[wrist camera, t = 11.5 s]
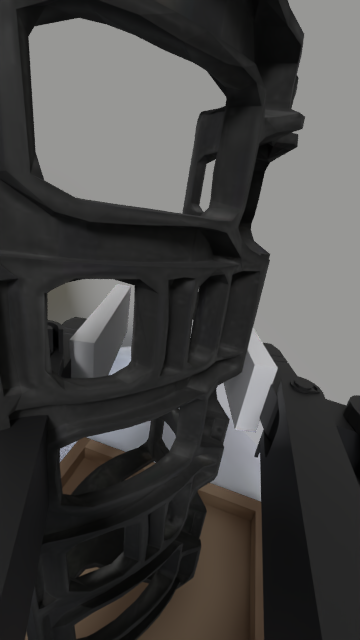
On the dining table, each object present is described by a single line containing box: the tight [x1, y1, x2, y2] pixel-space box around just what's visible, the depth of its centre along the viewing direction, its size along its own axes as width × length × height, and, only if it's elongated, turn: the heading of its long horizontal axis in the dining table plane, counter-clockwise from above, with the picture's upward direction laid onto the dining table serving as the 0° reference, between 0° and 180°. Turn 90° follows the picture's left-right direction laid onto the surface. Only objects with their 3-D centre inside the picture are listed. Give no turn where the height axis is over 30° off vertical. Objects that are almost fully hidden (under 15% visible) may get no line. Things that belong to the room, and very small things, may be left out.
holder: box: [0, 0, 305, 640], centre depth 10 cm, size 11×8×20 cm
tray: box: [25, 437, 264, 640], centre depth 17 cm, size 18×18×2 cm
